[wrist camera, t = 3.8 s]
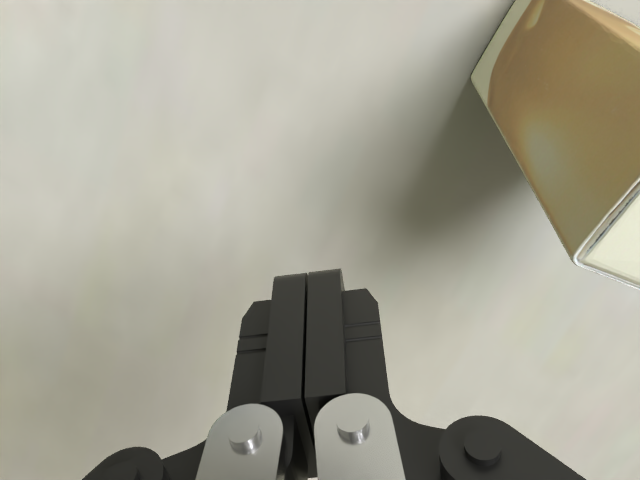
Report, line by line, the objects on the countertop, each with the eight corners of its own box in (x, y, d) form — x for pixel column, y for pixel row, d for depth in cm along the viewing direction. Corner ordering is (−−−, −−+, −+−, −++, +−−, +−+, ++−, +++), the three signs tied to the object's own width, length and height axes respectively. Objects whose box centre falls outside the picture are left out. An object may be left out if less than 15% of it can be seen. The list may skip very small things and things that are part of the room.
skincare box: (666, 39, 22) (965, 211, 12) (592, 137, 24) (788, 351, 14) (522, -34, 20) (721, 92, 10) (459, 78, 22) (569, 270, 12)
